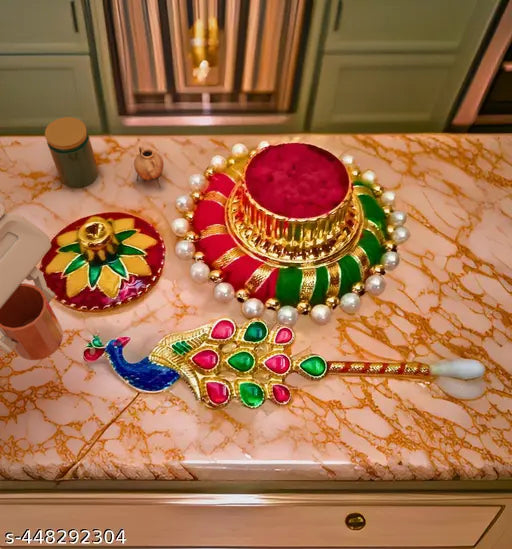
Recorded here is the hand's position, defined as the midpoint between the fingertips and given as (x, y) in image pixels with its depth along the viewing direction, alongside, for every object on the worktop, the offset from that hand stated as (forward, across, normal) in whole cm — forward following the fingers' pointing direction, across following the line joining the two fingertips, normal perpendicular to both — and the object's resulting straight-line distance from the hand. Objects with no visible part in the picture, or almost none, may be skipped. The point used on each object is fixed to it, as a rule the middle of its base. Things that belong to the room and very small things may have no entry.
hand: (32, 323), depth 76 cm
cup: (+3, 0, +4) cm, 5 cm away
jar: (-2, +40, +35) cm, 54 cm away
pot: (+8, +46, +25) cm, 53 cm away
